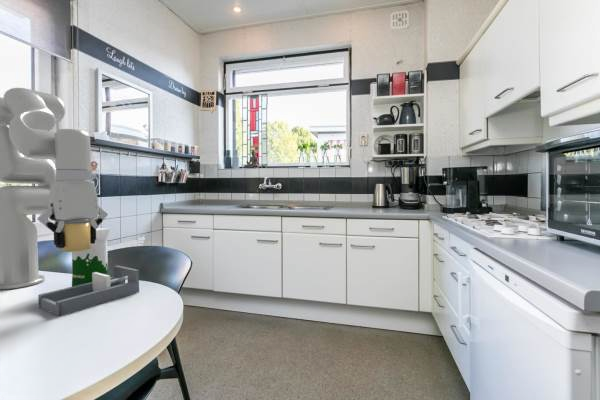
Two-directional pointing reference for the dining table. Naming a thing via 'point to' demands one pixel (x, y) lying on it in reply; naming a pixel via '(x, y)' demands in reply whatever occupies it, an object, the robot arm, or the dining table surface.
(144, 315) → the dining table surface
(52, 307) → the grey open rectangular box
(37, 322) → the dining table surface
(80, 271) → the milk carton
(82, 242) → the honey jar
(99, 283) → the pusher
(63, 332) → the dining table surface
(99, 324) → the dining table surface
